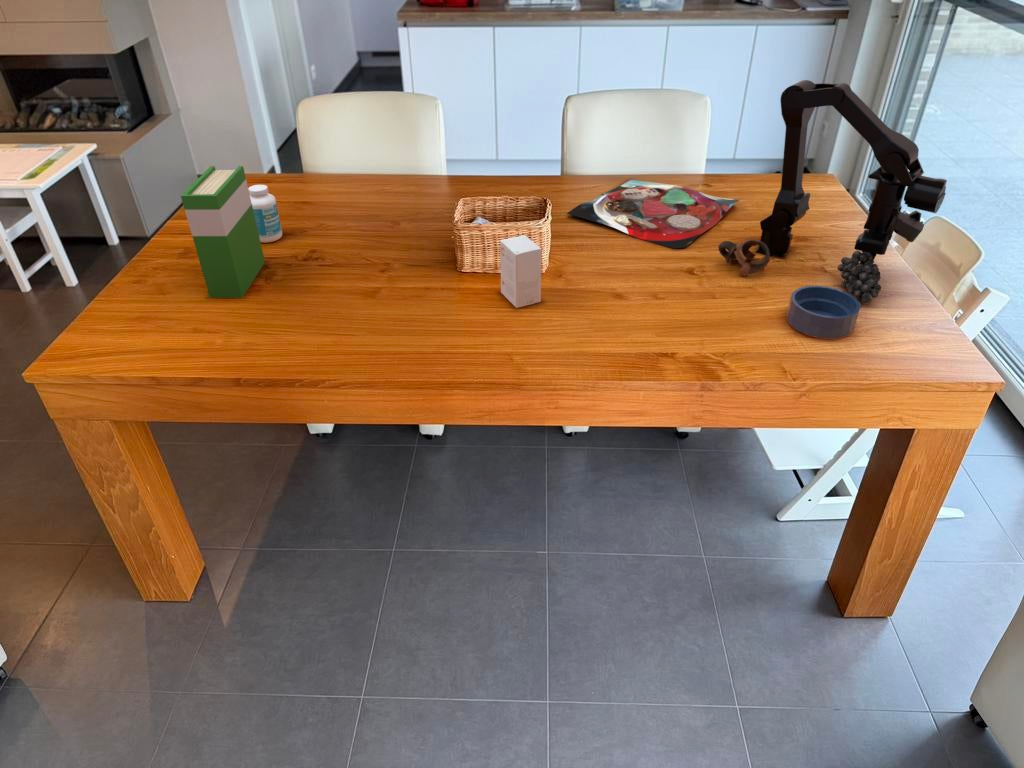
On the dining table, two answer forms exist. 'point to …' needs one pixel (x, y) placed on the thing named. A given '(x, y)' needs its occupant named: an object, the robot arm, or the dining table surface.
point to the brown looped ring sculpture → (744, 254)
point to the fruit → (860, 276)
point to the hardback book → (224, 231)
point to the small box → (520, 270)
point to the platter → (656, 212)
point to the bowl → (823, 312)
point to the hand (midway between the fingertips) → (867, 265)
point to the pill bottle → (265, 213)
